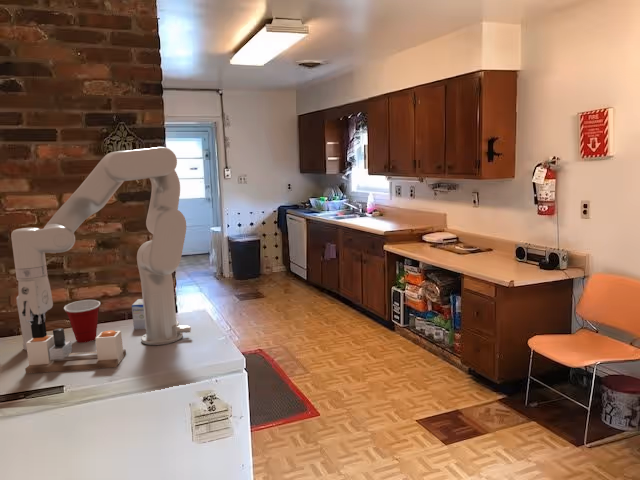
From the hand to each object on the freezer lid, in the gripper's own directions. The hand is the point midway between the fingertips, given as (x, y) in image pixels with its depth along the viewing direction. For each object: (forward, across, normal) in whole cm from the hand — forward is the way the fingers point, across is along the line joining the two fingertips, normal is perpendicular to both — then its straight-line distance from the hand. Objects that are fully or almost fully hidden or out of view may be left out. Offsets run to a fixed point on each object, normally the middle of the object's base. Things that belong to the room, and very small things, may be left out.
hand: (39, 336), depth 148 cm
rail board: (+9, 0, -10) cm, 13 cm away
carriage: (+6, 0, -5) cm, 8 cm away
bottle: (+9, +17, +10) cm, 22 cm away
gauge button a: (+2, 0, -19) cm, 19 cm away
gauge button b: (+2, 0, 0) cm, 2 cm away
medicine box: (+9, +33, -20) cm, 39 cm away
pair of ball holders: (+9, 0, -10) cm, 13 cm away
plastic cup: (+9, +21, -4) cm, 23 cm away
